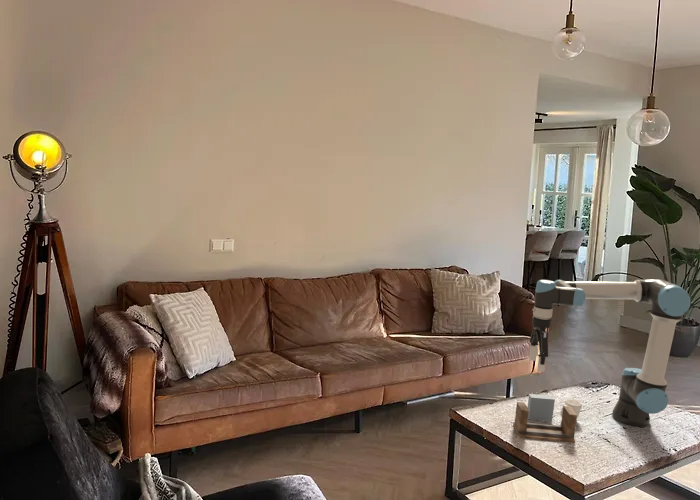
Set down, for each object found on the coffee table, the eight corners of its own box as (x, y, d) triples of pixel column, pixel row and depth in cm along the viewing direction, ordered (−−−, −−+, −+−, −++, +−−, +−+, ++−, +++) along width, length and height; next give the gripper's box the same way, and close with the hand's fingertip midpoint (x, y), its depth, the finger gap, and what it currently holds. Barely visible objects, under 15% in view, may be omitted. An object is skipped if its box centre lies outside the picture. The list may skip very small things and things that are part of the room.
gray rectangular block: (549, 417, 258) (552, 395, 256) (552, 421, 254) (554, 399, 252) (526, 415, 258) (529, 393, 257) (528, 419, 254) (531, 397, 253)
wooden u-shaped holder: (566, 429, 247) (569, 404, 245) (575, 443, 235) (578, 417, 233) (513, 424, 248) (516, 399, 246) (519, 437, 236) (522, 411, 234)
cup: (583, 422, 255) (585, 404, 254) (566, 425, 251) (568, 407, 250) (571, 415, 261) (573, 398, 260) (554, 418, 257) (556, 400, 256)
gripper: (525, 309, 258) (520, 355, 261) (540, 324, 233) (535, 375, 237) (543, 310, 258) (537, 356, 261) (560, 326, 233) (553, 377, 236)
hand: (536, 365), depth 249 cm, fingers open, 13 cm apart
